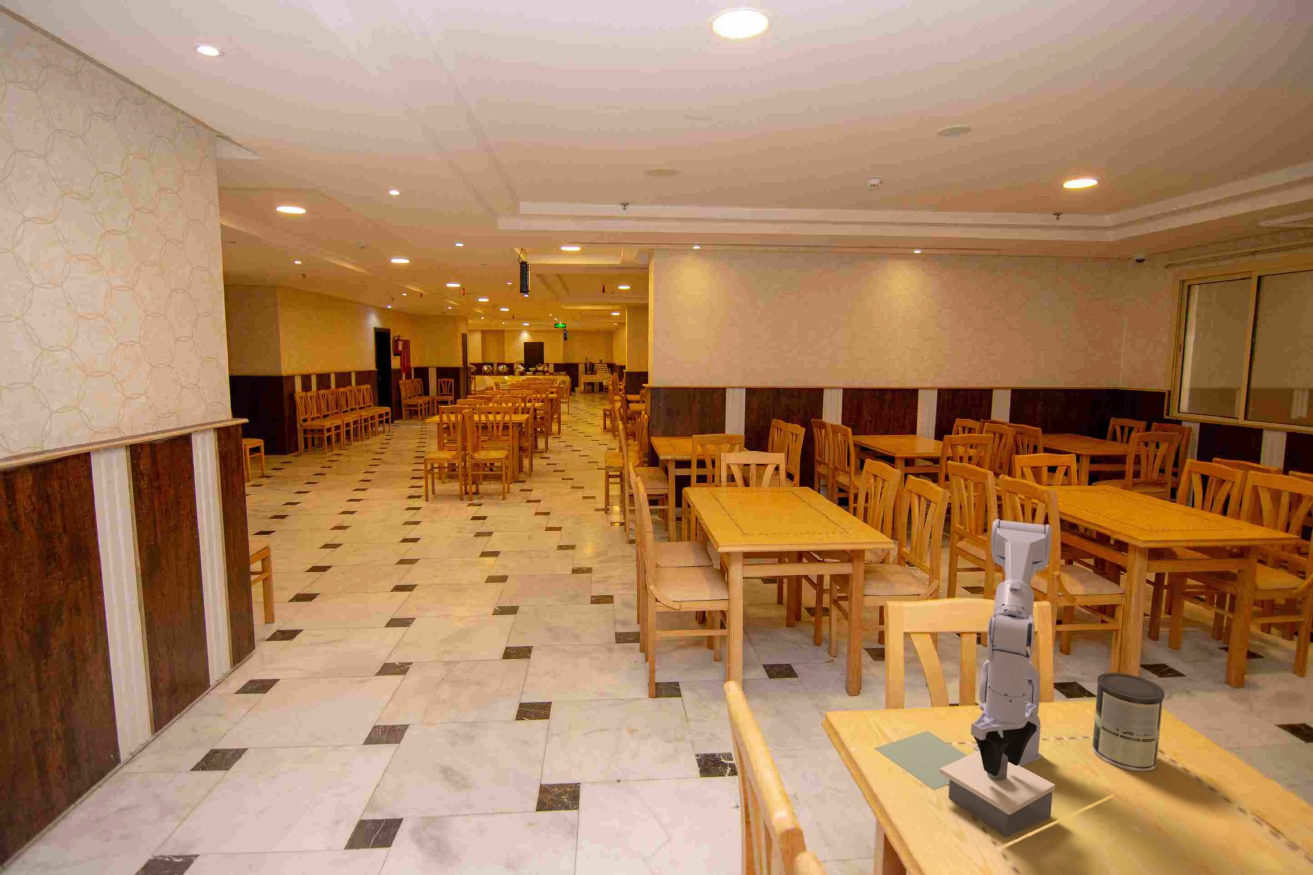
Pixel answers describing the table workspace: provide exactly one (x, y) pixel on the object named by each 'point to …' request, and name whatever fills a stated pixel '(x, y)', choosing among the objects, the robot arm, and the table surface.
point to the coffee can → (1127, 721)
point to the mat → (923, 757)
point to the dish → (997, 817)
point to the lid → (998, 782)
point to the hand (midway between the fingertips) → (1001, 767)
